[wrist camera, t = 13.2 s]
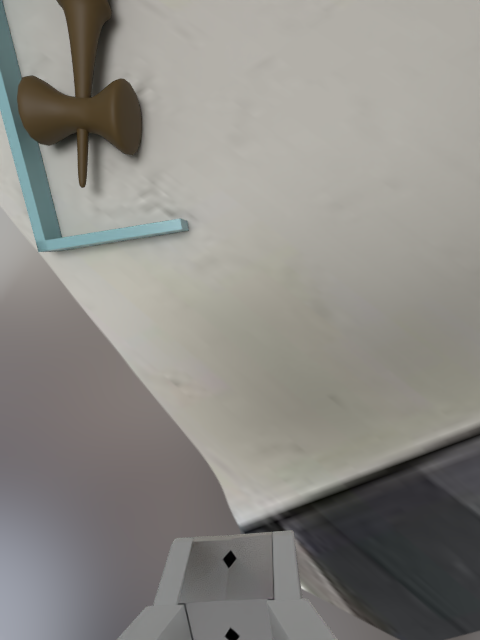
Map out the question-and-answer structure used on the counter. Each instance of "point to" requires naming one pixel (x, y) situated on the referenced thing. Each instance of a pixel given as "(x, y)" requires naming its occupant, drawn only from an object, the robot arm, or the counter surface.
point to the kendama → (82, 94)
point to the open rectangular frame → (3, 83)
